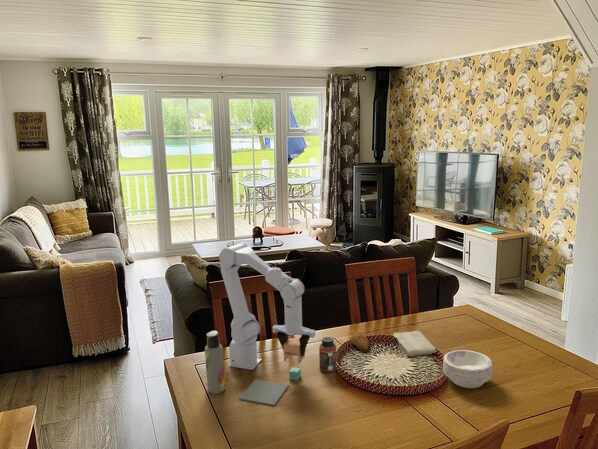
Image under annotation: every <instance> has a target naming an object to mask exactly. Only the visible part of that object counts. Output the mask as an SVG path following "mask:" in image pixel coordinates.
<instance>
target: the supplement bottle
mask: <svg viewBox="0 0 598 449" xmlns="http://www.w3.org/2000/svg"><path fill="white" fill-rule="evenodd" d="M318 352H319V356H318V357H319V358H318V360H319V362H318V363H319V370H320V371H322V372H323V373H333V372H335V371H336V370H337V345H336V344H335V343H334V338H333V337H331V336H326V337H323V338H321V343H320V345H319V350H318Z"/></svg>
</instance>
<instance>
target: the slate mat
mask: <svg viewBox="0 0 598 449" xmlns="http://www.w3.org/2000/svg"><path fill="white" fill-rule="evenodd" d="M288 388H290V387H289V384H286V383H279V382H275V381H274V382H273V381H268V380H267V381H266V380H262V379H254V381H253V382H252V383H251V384H250V385H249V386H248V388H247V389H246V390H245V391H244V392H243V393H242V394H241V396H239V400H241V401H245V402H252V403H257V404H262V405H267V406H272V407H275V406H276V405H277V403H278V402H279V400H280V399H281V398H282V397H283V395H284V394H285V392H286V391H287V390H288Z"/></svg>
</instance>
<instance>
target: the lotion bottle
mask: <svg viewBox="0 0 598 449" xmlns="http://www.w3.org/2000/svg"><path fill="white" fill-rule="evenodd" d="M206 341H207V342H206V346H205V347H204V355H205V356H204V357H205V369H206V372H205V373H206V387H207V392H208V393H209V394H213V395H214V394H221V393H222V392H224V390H225V389H226V379H225V365H224V364H225V363H224V350H223V349H224V346H223V345H222V344H221V343H220V333H219V332H218V331H217V330H211V331H209V332H207V333H206Z"/></svg>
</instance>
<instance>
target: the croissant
mask: <svg viewBox="0 0 598 449" xmlns="http://www.w3.org/2000/svg"><path fill="white" fill-rule="evenodd" d="M350 342H351V343H352V344H353V346H355V347H356V348H357V349H358V350H359V351H362V352H365V353H367V352H368V350H369V347H370V344H369V340H368V338H367V336H366V335H365V334H364V333H352V335H351V336H350Z"/></svg>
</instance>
